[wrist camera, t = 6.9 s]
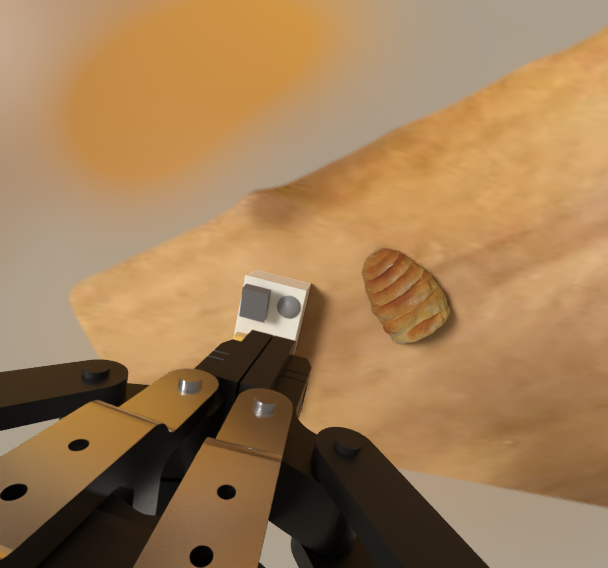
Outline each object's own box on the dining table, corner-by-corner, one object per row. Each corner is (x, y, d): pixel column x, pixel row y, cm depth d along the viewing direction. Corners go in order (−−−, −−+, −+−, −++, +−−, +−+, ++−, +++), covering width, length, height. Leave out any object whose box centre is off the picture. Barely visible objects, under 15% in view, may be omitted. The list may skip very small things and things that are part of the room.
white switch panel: (311, 283, 39) (306, 291, 35) (284, 398, 42) (276, 417, 38) (255, 269, 39) (244, 275, 36) (232, 384, 42) (220, 401, 39)
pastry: (344, 270, 38) (343, 277, 34) (401, 231, 37) (407, 234, 33) (396, 344, 39) (401, 358, 35) (454, 308, 37) (465, 319, 34)
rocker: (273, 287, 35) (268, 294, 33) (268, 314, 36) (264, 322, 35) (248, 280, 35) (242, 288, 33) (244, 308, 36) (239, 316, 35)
